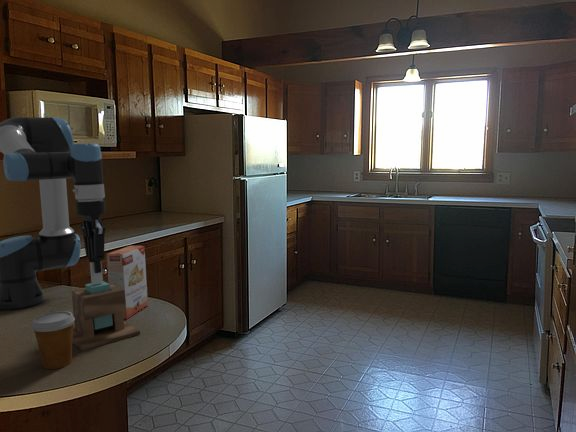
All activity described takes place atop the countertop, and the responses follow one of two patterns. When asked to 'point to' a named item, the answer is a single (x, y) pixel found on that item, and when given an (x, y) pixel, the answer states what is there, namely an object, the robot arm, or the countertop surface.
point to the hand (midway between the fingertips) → (97, 283)
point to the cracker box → (129, 276)
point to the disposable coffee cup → (54, 338)
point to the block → (103, 320)
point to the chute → (95, 307)
